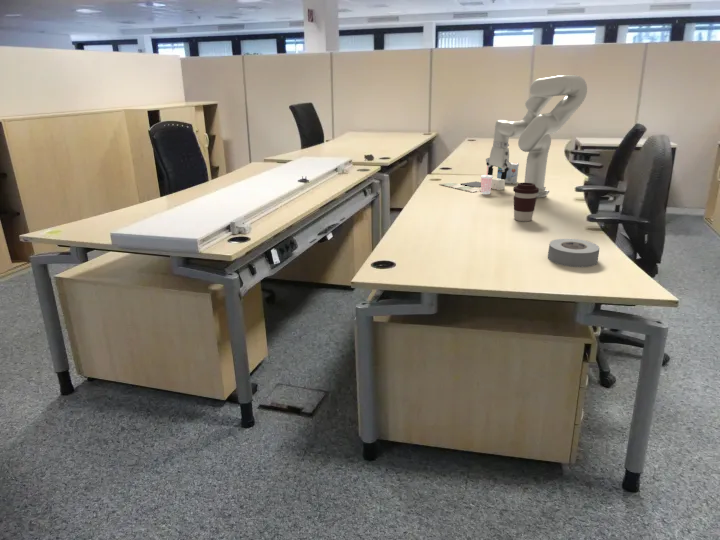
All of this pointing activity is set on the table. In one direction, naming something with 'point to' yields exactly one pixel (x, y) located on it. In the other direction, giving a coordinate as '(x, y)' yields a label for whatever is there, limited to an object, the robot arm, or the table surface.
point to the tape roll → (573, 252)
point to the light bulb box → (509, 173)
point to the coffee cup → (524, 201)
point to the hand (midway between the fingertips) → (496, 177)
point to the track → (461, 187)
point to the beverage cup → (486, 183)
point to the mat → (473, 184)
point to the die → (498, 184)
